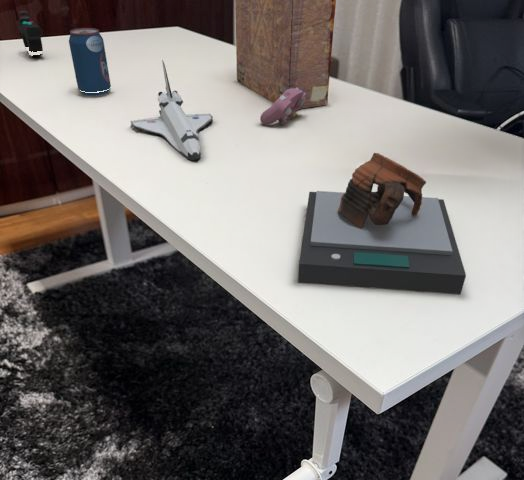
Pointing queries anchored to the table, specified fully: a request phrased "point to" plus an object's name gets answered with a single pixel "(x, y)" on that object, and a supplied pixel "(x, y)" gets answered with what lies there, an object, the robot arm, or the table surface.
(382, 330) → the table surface
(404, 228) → the scale
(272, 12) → the book
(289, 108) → the video game controller
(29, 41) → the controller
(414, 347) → the table surface
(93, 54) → the soda can
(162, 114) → the space shuttle model
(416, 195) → the brown hollow arched part
